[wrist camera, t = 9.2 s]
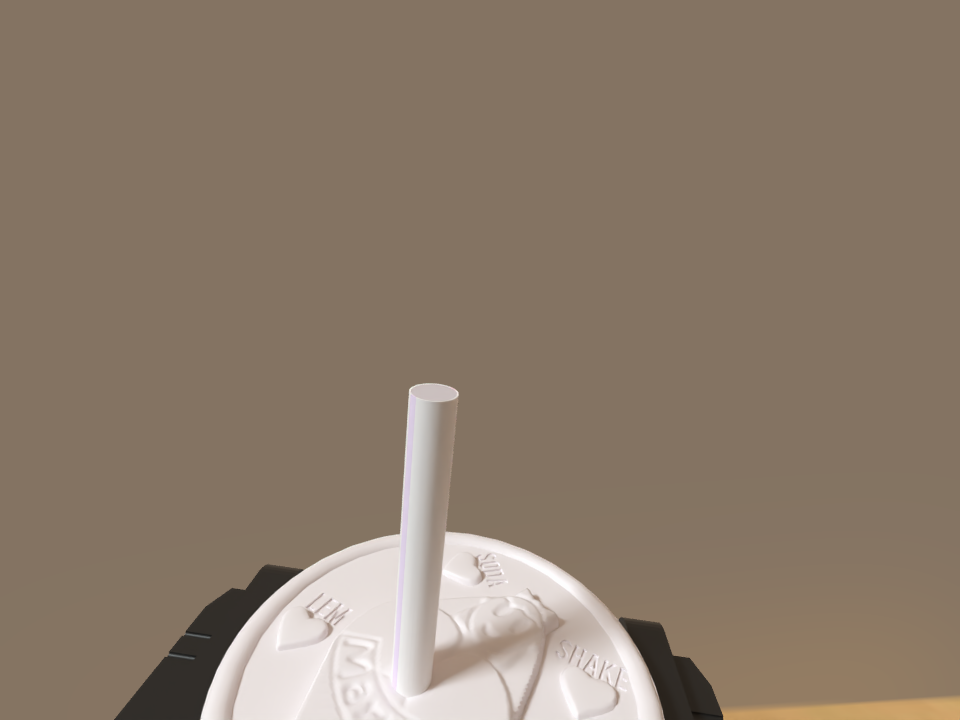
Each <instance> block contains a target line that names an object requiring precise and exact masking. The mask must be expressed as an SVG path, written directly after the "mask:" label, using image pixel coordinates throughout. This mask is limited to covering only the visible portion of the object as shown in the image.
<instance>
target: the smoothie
mask: <svg viewBox="0 0 960 720" xmlns="http://www.w3.org/2000/svg"><path fill="white" fill-rule="evenodd" d="M458 394H459V393H458V391H457V390H455V389H454V388H452V387H449V386H446V385H441V384H430V383H429V384H420V385H416V386H413V387H411V388H410V390H409V403H408V417H407V433H406V449H405V466H404V482H403V499H402V514H401V530H400V534H398V535H392V536H385V537H381V538H377V539H374V540H370V541H367V542H364V543H360V544H357V545H354V546H351V547H348V548H346V549H344V550H342V551H339V552H337V553H335V554H333V555H331V556H328V557H326V558H324V559H322V560H320V561H319V562H317V563H315V564H314V565H312V566H311V567H309V568H307V569H305V570H304V571H302V572H301V573H299V574H298V575H297V576H295V577H293V578H292V579H291V580H290V581H288V582H287V583H286V584H285V585H283V586H282V587H281V588H280V589H278V590H277V591H276V592H275V593H274V594H273V595H272V596H271V597H270V598H269V599H267V600H266V601H265V602H264V603H263V604H262V605H261V607H260V608H259V609H258V610H257V611H256V612H255V613H254V614H253V615H252V616H251V617H250V619H249V620H248V621H247V623H246V624H245V625H244V627H243V628H242V629H241V630H240V632H239V633H238V635H237V636H236V638H235V639H234V641H233V642H232V644H231V645H230V647H229V649H228V650H227V652H226V654H225V656H224V658H223V659H222V661H221V663H220V665H219V667H218V669H217V671H216V674H215V676H214V679H213V681H212V683H211V686H210V688H209V691H208V694H207V697H206V701H205V704H204V707H203V711H202V714H201V719H200V720H664V715H663V710H662V706H661V703H660V700H659V696H658V693H657V690H656V687H655V684H654V682H653V679H652V677H651V675H650V672H649V670H648V667H647V666H646V664H645V662H644V660H643V658H642V656H641V654H640V652H639V650H638V648H637V647H636V645H635V644H634V642H633V640H632V639H631V637H630V636H629V634H628V633H627V631H626V630H625V629H624V627H623V626H622V625H621V623H620V622H619V621H618V619H617V618H616V617H615V616H614V615H613V614H612V612H611V611H610V610H609V609H608V608H607V607H606V605H604V604H603V603H602V602H601V601H600V600H599V599H598V598H597V597H596V596H595V595H594V594H593V593H592V592H591V591H590V590H588V589H587V588H586V587H585V586H584V585H583V584H582V583H581V582H579V581H578V580H576V579H575V578H573V577H572V576H571V575H569V574H568V573H566V572H565V571H563V570H562V569H561V568H559V567H558V566H556V565H555V564H553V563H551V562H549V561H547V560H545V559H543V558H541V557H539V556H537V555H535V554H533V553H531V552H529V551H527V550H525V549H522V548H519V547H516V546H514V545H511V544H508V543H505V542H502V541H500V540H495V539H491V538H486V537H481V536H477V535H473V534H464V533H454V532H446V522H447V511H448V501H449V490H450V479H451V469H452V458H453V448H454V437H455V427H456V416H457V406H458Z"/></svg>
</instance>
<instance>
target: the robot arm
mask: <svg viewBox="0 0 960 720" xmlns="http://www.w3.org/2000/svg"><path fill="white" fill-rule="evenodd" d="M302 571H304V570H302V569H296V568H289V567H283V566H276V565H265V566H264V567H262V569H261V570H260V571H259V572H258V574H257V575H256V576H255V578H254V579H253V580H252V582H251V583H250V584H249V586H248V587H247V588H246V590H240V589H234V588H232V589H230V590H229V591H227V592H226V593H225V594H223V595H222V596H221V597H219V598H217V599H216V600H215V601H213V602H212V603H210V604H209V605H208V606H206V607H205V608H204V609H203V611H202V612H201V613H200V614H199V616H198V617H197V618H196V619H195V621H194V622H193V623H192V624H191V625H190V627H189V628H188V629H187V630H186V634H185V635H184V636H182V637H181V638H180V639H179V640H178V641H177V643H176V644H175V645H174V646H173V648H172V649H171V650H170V651H169V655H168V657H165V658H164V659H163V660H162V661H161V663H160V664H159V665H158V666H157V667H156V669H155V670H154V671H153V672H152V674H151V675H150V676H149V677H148V679H147V680H146V681H145V682H144V683H143V685H142V686H141V687H140V688H139V690H138V691H137V692H136V694H135V695H134V696H133V697H132V698H131V700H130V701H129V702H128V703H127V704H126V706H125V707H124V708H123V710H122V711H121V712H120V713H119V714H118V716H117V717H116V718H115V719H114V720H200V719H201V714H202V711H203V707H204V704H205V701H206V697H207V694H208V691H209V688H210V686H211V683H212V681H213V679H214V676H215V674H216V671H217V669H218V667H219V665H220V663H221V661H222V659H223V658H224V656H225V654H226V652H227V650H228V649H229V647H230V645H231V644H232V642H233V641H234V639H235V638H236V636H237V635H238V633H239V632H240V630H241V629H242V628H243V627H244V625H245V624H246V623H247V621H248V620H249V619H250V617H251V616H252V615H253V614H254V613H255V612H256V611H257V610H258V609H259V608H260V607H261V605H262V604H263V603H264V602H265V601H266V600H267V599H269V598H270V597H271V596H272V595H273V594H274V593H275V592H276V591H277V590H278V589H280V588H281V587H282V586H283V585H285V584H286V583H287V582H288V581H290V580H291V579H292V578H293V577H295V576H297V575H298V574H299V573H301V572H302ZM618 621H619V622H620V623H621V625H622V626H623V627H624V629H625V630H626V631H627V633H628V634H629V636H630V637H631V639H632V640H633V642H634V644H635V645H636V647H637V648H638V650H639V652H640V654H641V656H642V658H643V660H644V662H645V664H646V666H647V667H648V670H649V672H650V675H651V677H652V679H653V682H654V684H655V687H656V690H657V693H658V696H659V700H660V703H661V706H662V710H663V715H664V720H723V714H722V712H721V709H720V707H719V704H718V702H717V699H716V697H715V694H714V692H713V689H712V687H711V685H710V684H709V682H708V681H707V680H706V678H705V677H704V676H703V675H702V673H701V672H700V671H699V669H698V668H697V667H696V666H695V664H694V663H693V662H692V661H691V659H690V658H685V657H679V656H673V655H672V652H671V650H670V647H669V643H668V640H667V638H666V635H665V632H664V629H663V627H662V625H661V624H660V623H657V622H650V621H643V620H636V619H629V618H622V617H621V618H620V619H619V620H618Z"/></svg>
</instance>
